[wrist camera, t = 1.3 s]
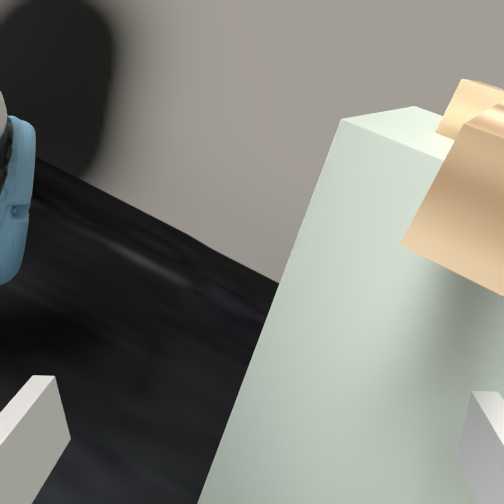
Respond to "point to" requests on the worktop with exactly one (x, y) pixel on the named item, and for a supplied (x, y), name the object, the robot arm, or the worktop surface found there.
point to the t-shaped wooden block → (467, 191)
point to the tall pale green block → (363, 342)
